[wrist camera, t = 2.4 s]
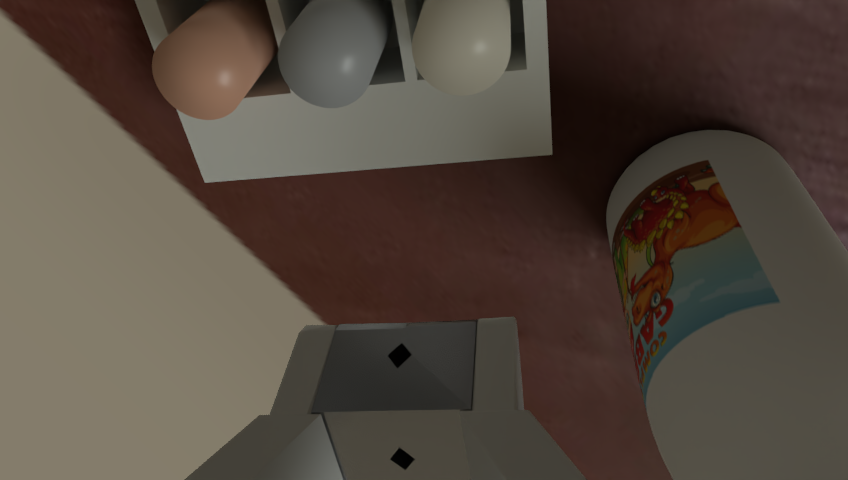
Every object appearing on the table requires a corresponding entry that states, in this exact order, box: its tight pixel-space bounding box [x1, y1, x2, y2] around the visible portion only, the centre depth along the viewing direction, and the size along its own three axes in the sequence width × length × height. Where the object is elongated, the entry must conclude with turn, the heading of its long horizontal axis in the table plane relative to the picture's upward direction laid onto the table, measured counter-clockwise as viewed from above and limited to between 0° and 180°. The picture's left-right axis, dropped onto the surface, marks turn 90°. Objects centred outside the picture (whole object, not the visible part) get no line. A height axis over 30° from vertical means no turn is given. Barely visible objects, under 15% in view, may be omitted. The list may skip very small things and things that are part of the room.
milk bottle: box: [606, 130, 848, 480], centre depth 21 cm, size 8×8×20 cm
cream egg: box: [412, 0, 511, 96], centre depth 21 cm, size 3×3×4 cm
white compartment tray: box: [135, 0, 552, 183], centre depth 24 cm, size 10×13×4 cm
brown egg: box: [152, 0, 279, 120], centre depth 22 cm, size 3×3×4 cm
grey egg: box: [278, 0, 393, 108], centre depth 22 cm, size 3×3×4 cm
